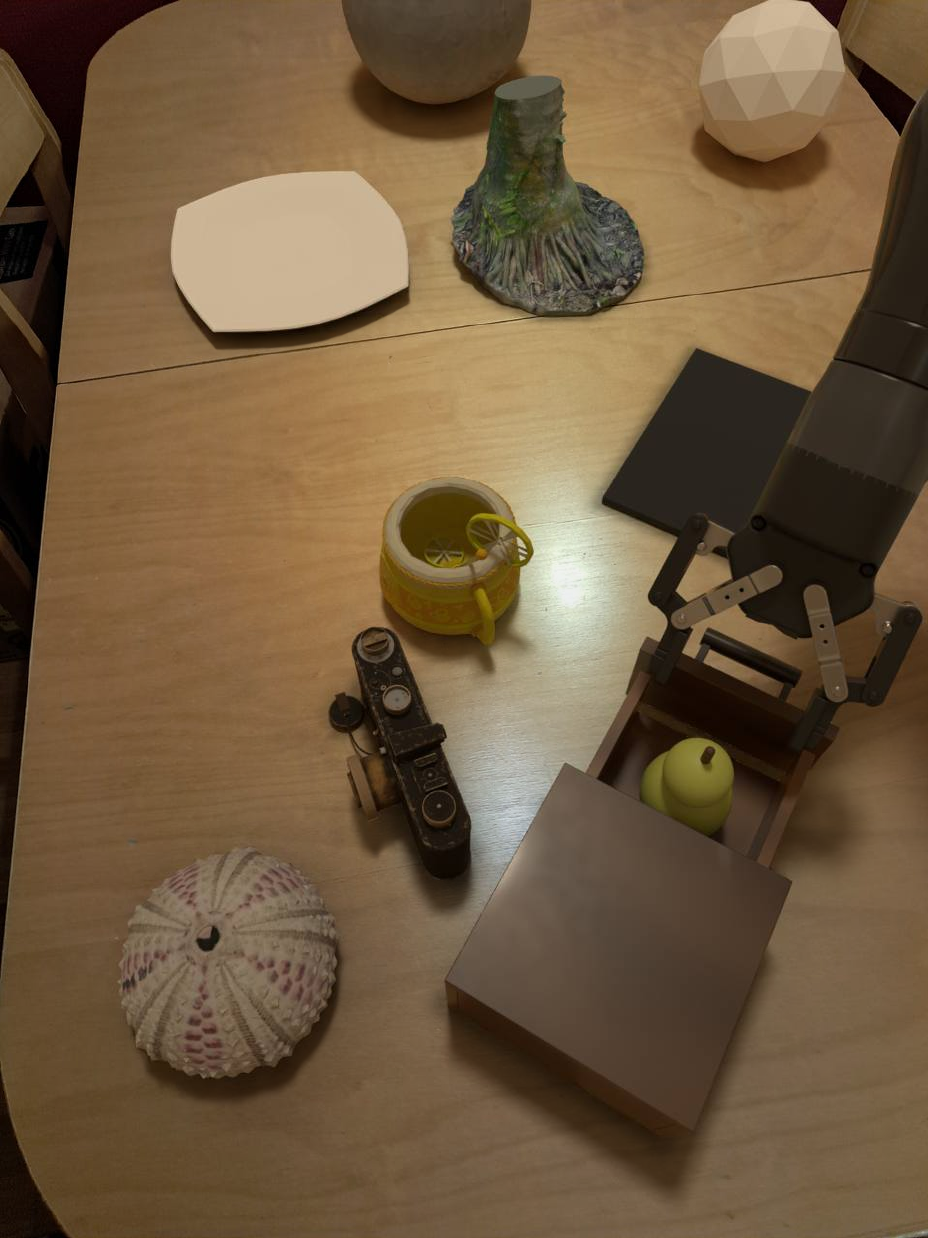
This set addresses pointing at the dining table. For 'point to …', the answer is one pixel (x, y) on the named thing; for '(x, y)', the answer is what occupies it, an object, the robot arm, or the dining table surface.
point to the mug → (451, 557)
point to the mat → (708, 446)
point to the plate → (288, 252)
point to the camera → (404, 755)
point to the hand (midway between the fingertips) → (725, 715)
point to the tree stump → (542, 215)
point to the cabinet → (619, 951)
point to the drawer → (717, 736)
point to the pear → (691, 784)
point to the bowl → (438, 44)
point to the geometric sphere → (771, 79)
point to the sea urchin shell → (228, 964)
